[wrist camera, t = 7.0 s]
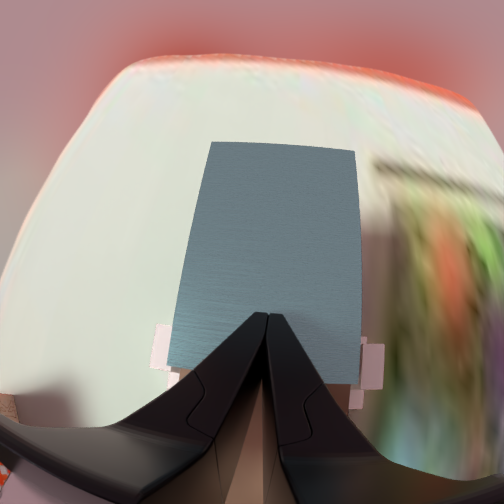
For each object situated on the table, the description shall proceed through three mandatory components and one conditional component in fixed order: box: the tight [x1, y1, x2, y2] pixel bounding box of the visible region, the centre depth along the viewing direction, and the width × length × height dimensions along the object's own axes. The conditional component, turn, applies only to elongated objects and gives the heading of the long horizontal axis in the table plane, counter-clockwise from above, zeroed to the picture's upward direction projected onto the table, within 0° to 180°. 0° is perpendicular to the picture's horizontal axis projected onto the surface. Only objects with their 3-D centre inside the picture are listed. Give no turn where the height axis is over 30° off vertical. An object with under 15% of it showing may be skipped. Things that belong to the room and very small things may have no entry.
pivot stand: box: [149, 324, 385, 409], centre depth 18 cm, size 5×13×6 cm, turn 84°
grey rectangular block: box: [167, 142, 362, 384], centre depth 13 cm, size 5×6×9 cm
